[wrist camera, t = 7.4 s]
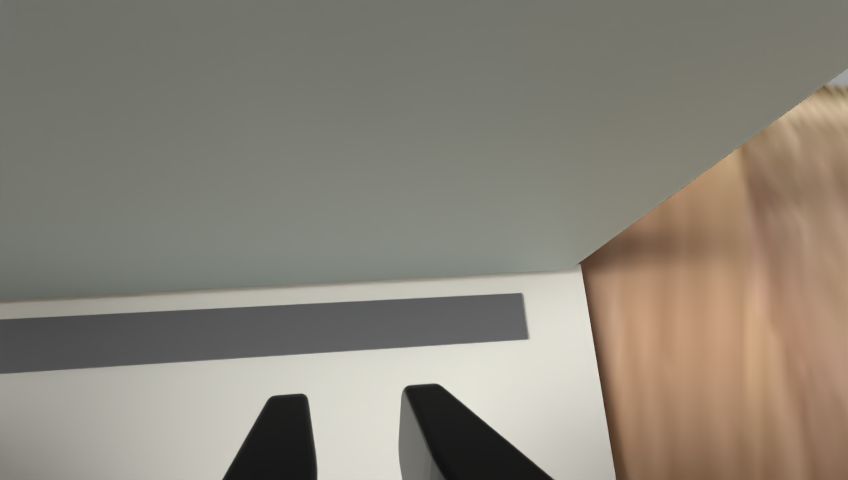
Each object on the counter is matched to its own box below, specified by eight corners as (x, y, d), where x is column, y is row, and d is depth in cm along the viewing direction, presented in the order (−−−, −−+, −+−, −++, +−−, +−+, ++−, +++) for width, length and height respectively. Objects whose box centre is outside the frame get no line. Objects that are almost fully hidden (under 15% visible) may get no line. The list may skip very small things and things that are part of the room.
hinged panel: (-286, 315, 13) (-1985, -212, 3) (-274, 248, 13) (-1767, -410, 3) (569, 269, 16) (1010, -50, 6) (561, 216, 16) (967, -161, 7)
